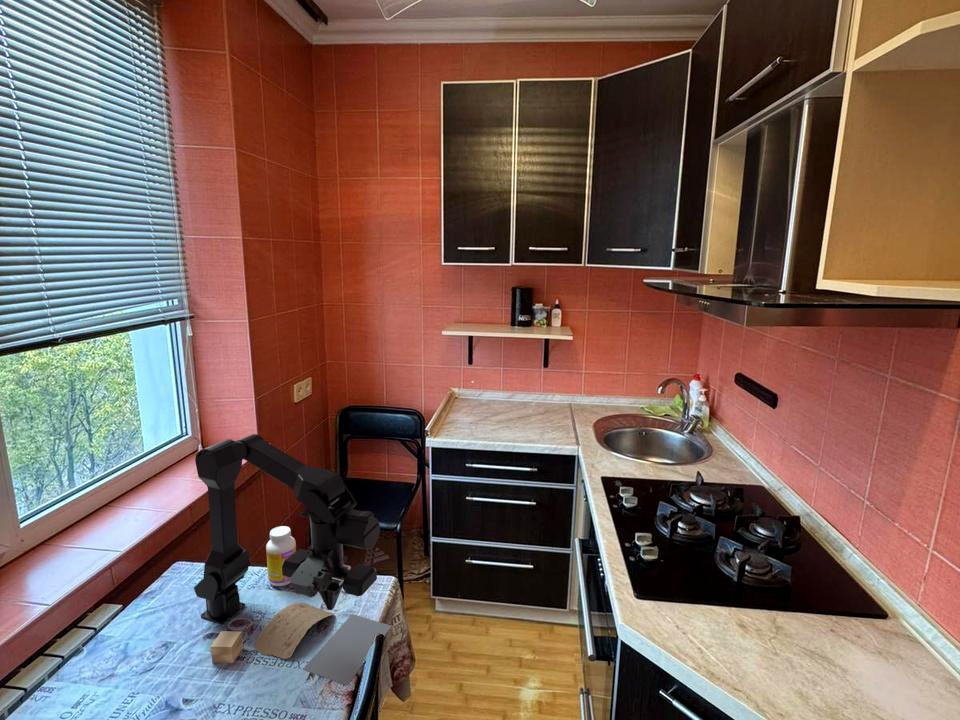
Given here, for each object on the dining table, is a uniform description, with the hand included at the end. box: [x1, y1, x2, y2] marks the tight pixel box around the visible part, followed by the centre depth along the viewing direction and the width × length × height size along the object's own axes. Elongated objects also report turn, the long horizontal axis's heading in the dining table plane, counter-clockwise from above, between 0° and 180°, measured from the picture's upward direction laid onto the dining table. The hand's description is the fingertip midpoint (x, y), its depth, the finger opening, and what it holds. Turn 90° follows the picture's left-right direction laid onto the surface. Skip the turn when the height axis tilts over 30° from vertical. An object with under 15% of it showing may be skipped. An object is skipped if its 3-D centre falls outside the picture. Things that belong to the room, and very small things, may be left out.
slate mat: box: [302, 613, 393, 686], centre depth 99 cm, size 10×16×1 cm, turn 160°
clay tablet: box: [253, 602, 335, 659], centre depth 103 cm, size 14×10×3 cm
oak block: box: [210, 630, 244, 664], centre depth 96 cm, size 4×4×4 cm
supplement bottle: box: [265, 525, 297, 587], centre depth 119 cm, size 7×7×13 cm
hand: (331, 608), depth 98 cm, fingers closed
